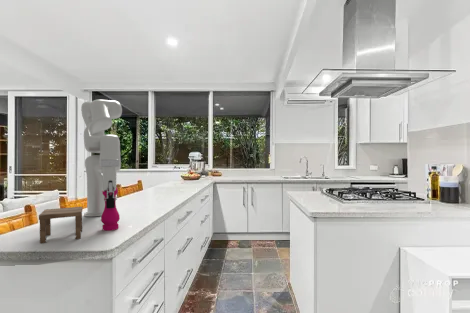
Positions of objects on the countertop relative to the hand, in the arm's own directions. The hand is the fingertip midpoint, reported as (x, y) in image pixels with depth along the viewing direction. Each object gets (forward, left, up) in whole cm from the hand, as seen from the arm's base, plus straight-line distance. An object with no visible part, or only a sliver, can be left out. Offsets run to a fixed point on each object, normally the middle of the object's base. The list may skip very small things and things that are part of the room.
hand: (110, 206), depth 119 cm
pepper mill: (0, 0, -10) cm, 10 cm away
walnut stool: (+4, -17, -9) cm, 20 cm away
